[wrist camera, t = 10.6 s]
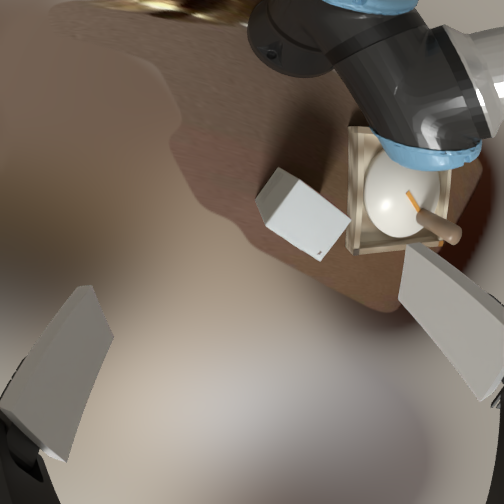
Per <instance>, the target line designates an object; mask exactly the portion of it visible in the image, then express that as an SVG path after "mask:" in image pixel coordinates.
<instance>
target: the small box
mask: <svg viewBox="0 0 504 504" xmlns="http://www.w3.org/2000/svg"><path fill="white" fill-rule="evenodd" d="M255 201H256V204H257V206H258V209H259V211H260V213H261V216H262V218H263V221H264V223H265V225H266V227H268V228H269V229H271V230H272V231H274V232H275V233H277V234H278V235H280V236H281V237H283V238H284V239H286V240H287V241H289V242H290V243H291V244H293V245H294V246H296V247H297V248H299V249H300V250H302V251H304V252H306V253H307V254H309V255H310V256H312V257H314V258H315V259H317V260H318V261H321V260H322V258H323V257H324V256H325V255H326V253H327V252H328V251H329V250H330V248H331V247H332V246H333V244H334V243H335V242H336V240H337V239H338V238H339V236H340V235H341V234H342V232H343V231H344V230H345V228H346V227H347V226H348V224H349V223H350V222H351V220H352V219H351V218H350V217H349V216H348V215H346V214H345V213H344V212H343V211H342V210H340V209H339V208H338V207H337V206H335V205H334V204H333V203H332V202H330V201H329V200H328V199H326V198H325V197H324V196H322V195H321V194H320V193H318V192H317V191H316V190H314V189H313V188H312V187H310V186H309V185H308V184H306V183H305V182H303V181H302V180H301V179H298V178H297V177H295V176H293V175H292V174H290V173H288V172H286V171H285V170H283V169H281V168H280V167H278V168H277V169H276V171H275V172H274V173H273V175H272V176H271V178H270V179H269V180H268V182H267V183H266V185H265V186H264V188H263V189H262V190H261V192H260V193H259V195H258V196H257V197H256V199H255Z"/></svg>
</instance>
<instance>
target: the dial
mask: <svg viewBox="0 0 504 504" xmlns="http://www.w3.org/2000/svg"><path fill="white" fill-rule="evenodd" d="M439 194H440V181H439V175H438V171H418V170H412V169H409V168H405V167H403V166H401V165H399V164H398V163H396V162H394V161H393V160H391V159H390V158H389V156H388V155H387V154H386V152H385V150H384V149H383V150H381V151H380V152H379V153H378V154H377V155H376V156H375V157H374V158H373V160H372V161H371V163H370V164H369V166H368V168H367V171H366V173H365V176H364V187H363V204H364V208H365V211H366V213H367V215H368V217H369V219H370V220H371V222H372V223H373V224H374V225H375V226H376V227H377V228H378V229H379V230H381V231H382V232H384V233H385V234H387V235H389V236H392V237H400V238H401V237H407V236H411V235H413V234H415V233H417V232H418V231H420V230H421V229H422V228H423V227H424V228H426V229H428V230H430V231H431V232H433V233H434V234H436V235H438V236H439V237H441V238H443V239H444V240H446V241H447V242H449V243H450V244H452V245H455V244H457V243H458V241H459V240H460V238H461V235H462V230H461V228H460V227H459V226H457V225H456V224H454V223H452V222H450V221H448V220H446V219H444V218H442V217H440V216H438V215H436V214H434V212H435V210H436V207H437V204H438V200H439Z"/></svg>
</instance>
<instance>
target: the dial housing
mask: <svg viewBox="0 0 504 504" xmlns="http://www.w3.org/2000/svg"><path fill="white" fill-rule="evenodd" d="M381 150H383V147H382V145H381V143H380V142H379V140H378V138H377V137H376V136H375V135H374V134H373V133H372V132H371V130H370V128H369V127H360V126H350V127H348V153H349V168H348V207H347V215H348V216H349V217H350V218H351V219H352V220H351V222H350V223H349V224H348V226H347V227H346V242H345V247H346V248H347V249H348V250H349V251H350V252H351V253H352V254H353V255H354V256H355V255H359V254H369V253H378V252H388V251H397V250H406V244H411V243H418V242H420V243H422V244H423V245H425V246H426V247H434V246H442V245H443V238H441V237H439V236H438V235H436V234H434V233H433V232H431V231H430V230H428V229H426V228H424V227H423V228H422V229H421V230H420V231H418V232H417V233H415V234H413V235H411V236H407V237H401V238H400V237H392V236H389V235H387V234H385V233H384V232H382V231H381V230H379V229H378V228H377V227H376V226H375V225H374V224H373V223H372V222H371V220H370V219H369V217H368V215H367V213H366V211H365V208H364V204H363V187H364V176H365V173H366V171H367V168H368V166H369V164H370V163H371V161H372V160H373V158H374V157H375V156H376V155H377V154H378V153H379V152H380V151H381ZM438 175H439V181H440V194H439V200H438V204H437V207H436V210H435V212H434V214H436V215H438V216H440V217H442V218H444V219H446V218H447V210H448V203H449V194H450V183H451V169H450V170H444V171H438Z"/></svg>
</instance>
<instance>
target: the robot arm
mask: <svg viewBox="0 0 504 504" xmlns="http://www.w3.org/2000/svg"><path fill="white" fill-rule="evenodd" d="M417 3H418V0H263V1H261V2H260V3H259V4H258V5H257V6H256V7H255V8H254V10H253V11H252V13H251V15H250V18H249V22H248V27H247V35H248V40H249V43H250V46H251V48H252V50H253V51H254V53H255V54H256V55H257V57H258V58H259V59H260V60H261V61H262V62H263V63H265V64H266V65H267V66H269V67H270V68H272V69H273V70H275V71H277V72H279V73H282V74H285V75H288V76H292V77H298V78H311V77H317V76H320V75H323V74H326V73H328V72H329V71H331V70H333V69H335V70H336V72H337V73H338V74H339V76H340V77H341V79H342V80H343V82H344V83H345V85H346V87H347V88H348V90H349V91H350V93H351V94H352V96H353V98H354V99H355V101H356V103H357V104H358V106H359V108H360V109H361V111H362V113H363V114H364V116H365V118H366V120H367V122H368V123H369V128H370V130H371V132H372V133H373V134H374V135H375V136H376V137H377V138H378V140H379V142H380V143H381V145H382V147H383V149H384V150H385V152H386V154H387V155H388V156H389V158H390V159H391V160H393V161H394V162H396V163H398V164H399V165H401V166H403V167H405V168H409V169H412V170H418V171H444V170H450V169H454V168H458V167H461V166H463V164H464V162H471V161H473V160H474V159H475V158H477V156H478V155H479V153H480V151H481V145H482V139H486V138H492V137H495V135H496V133H497V131H498V129H499V127H500V124H501V122H502V121H503V120H504V27H499V28H494V29H489V30H484V31H480V32H476V33H472V34H463V33H461V32H459V31H457V30H455V29H453V28H451V27H449V26H447V25H442V26H439V27H436V28H433V29H429V28H428V27H427V25H426V24H425V22H424V21H423V19H422V18H421V16H420V15H419V13H418V12H417V10H416V9H415V8H414V7H415V6H417ZM398 300H399V301H400V302H401V303H402V304H403V305H404V306H405V308H406V309H407V310H408V311H409V312H410V313H411V315H412V316H413V317H414V318H415V319H416V320H417V322H418V323H419V324H420V325H421V326H422V327H423V329H424V330H425V331H426V332H427V333H428V334H429V336H430V337H431V338H432V340H433V341H434V342H435V343H436V345H437V346H438V347H439V348H440V349H441V351H442V352H443V353H444V354H445V356H446V357H447V358H448V360H449V361H450V362H451V364H452V365H453V366H454V368H455V369H456V370H457V371H458V373H459V374H460V375H461V377H462V378H463V380H464V381H465V382H466V384H467V385H468V386H469V388H470V389H471V390H472V392H473V393H474V395H475V396H476V398H477V399H478V401H479V402H481V401H482V400H484V399H485V398H487V397H488V396H490V395H491V394H492V393H493V392H494V391H495V389H496V388H497V386H498V385H499V383H500V382H501V381H502V382H503V384H504V305H503V304H502V305H501V302H499V301H498V300H497V299H496V298H495V297H494V296H492V295H491V294H489V293H487V292H485V291H484V290H483V289H482V288H481V287H479V286H478V285H477V284H476V283H474V282H473V281H472V280H471V279H469V278H468V277H467V276H465V275H464V274H463V273H461V272H460V271H459V270H458V269H456V268H455V267H454V266H452V265H451V264H450V263H448V262H447V261H446V260H444V259H443V258H442V257H440V256H439V255H437V254H436V253H435V252H433V251H432V250H430V249H429V248H427V247H426V246H425V245H423V244H422V243H420V242H418V243H411V244H406V252H405V260H404V266H403V273H402V279H401V285H400V290H399V295H398ZM113 338H114V336H113V334H112V332H111V329H110V327H109V325H108V323H107V320H106V318H105V316H104V314H103V311H102V309H101V307H100V304H99V302H98V300H97V297H96V295H95V292H94V289H93V287H92V285H87V286H78V287H77V288H76V290H75V291H74V292H73V293H72V295H71V296H70V297H69V298H68V300H67V301H66V302H65V304H64V305H63V306H62V307H61V309H60V310H59V311H58V312H57V314H56V315H55V317H54V318H53V319H52V320H51V322H50V323H49V325H48V326H47V328H46V329H45V330H44V332H43V333H42V334H41V336H40V337H39V339H38V340H37V342H36V343H35V344H34V346H33V348H32V349H31V350H30V352H29V354H28V355H27V356H26V357H25V358H24V359H23V360H22V362H21V363H20V365H19V366H18V368H17V369H16V370H17V372H15V373H14V374H13V376H12V380H10V381H9V383H8V384H7V386H6V388H5V390H4V391H3V393H2V395H1V397H0V504H61V503H60V501H59V499H58V497H57V494H56V492H55V490H54V487H53V485H52V482H51V480H50V477H49V474H48V472H47V469H46V466H45V463H44V460H43V458H42V457H41V456H40V455H39V454H38V452H39V449H41V450H42V451H44V452H45V453H46V454H47V455H48V456H50V457H51V458H54V459H57V460H60V461H63V462H67V460H68V457H69V453H70V450H71V447H72V444H73V441H74V437H75V434H76V431H77V428H78V425H79V423H80V420H81V417H82V414H83V411H84V409H85V406H86V403H87V400H88V398H89V395H90V393H91V390H92V388H93V385H94V383H95V380H96V378H97V375H98V373H99V370H100V368H101V365H102V363H103V361H104V358H105V356H106V354H107V352H108V349H109V347H110V345H111V343H112V340H113ZM499 399H500V402H499V404H498V405H497V407H496V408H499V409H500V425H499V437H498V446H497V454H496V461H495V466H494V471H493V476H492V481H491V486H490V490H489V494H488V498H487V501H486V504H504V387H503V388H502V389H501V391H500V392H499V393H498V395H497V396H496V398H495V399H494V400H493V402H492V404H491V408H493V407H494V406H495V404H496V403H497V402H498V401H499Z"/></svg>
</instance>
